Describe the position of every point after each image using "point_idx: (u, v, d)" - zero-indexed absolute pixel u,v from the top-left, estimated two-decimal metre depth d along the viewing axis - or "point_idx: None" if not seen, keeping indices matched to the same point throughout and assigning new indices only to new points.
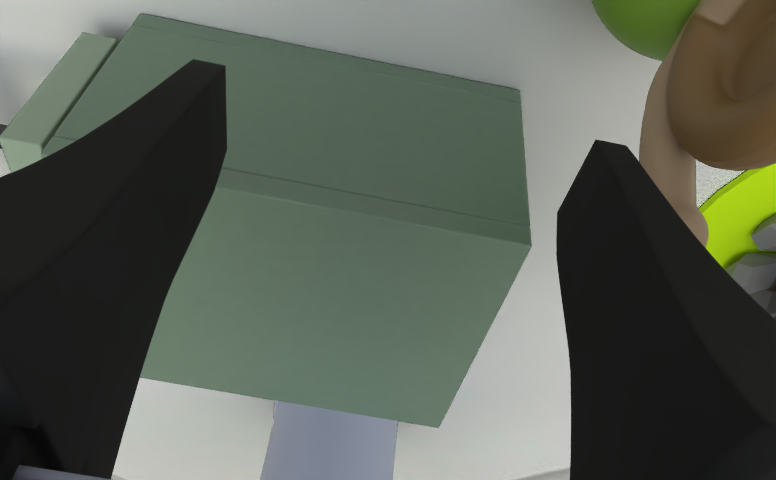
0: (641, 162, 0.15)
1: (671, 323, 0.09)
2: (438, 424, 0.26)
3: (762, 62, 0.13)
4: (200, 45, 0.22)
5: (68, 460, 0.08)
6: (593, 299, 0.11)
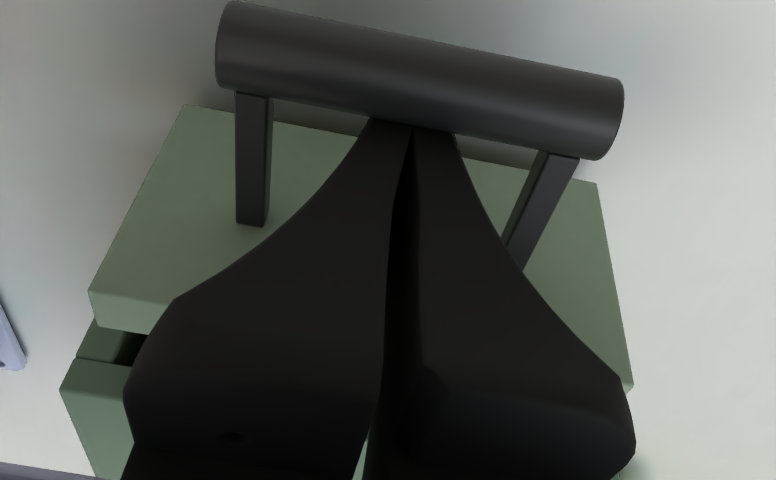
0: None
1: (414, 275, 0.08)
2: None
3: None
4: None
5: None
6: (396, 263, 0.11)
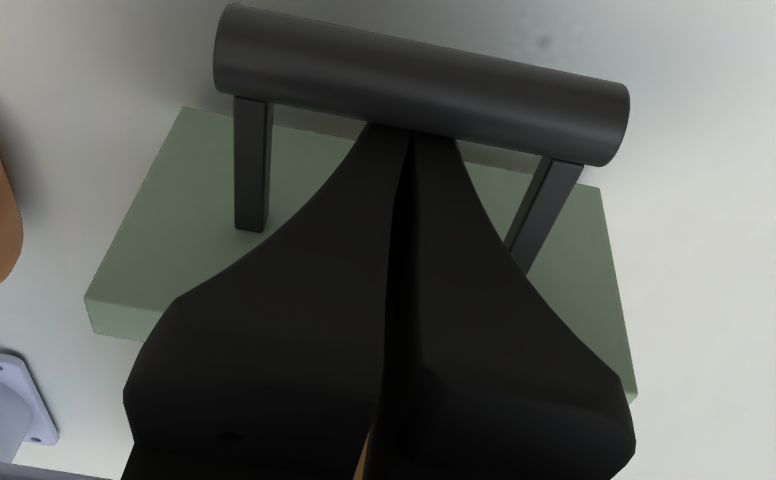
0: None
1: (414, 275, 0.08)
2: None
3: None
4: None
5: None
6: (396, 263, 0.11)
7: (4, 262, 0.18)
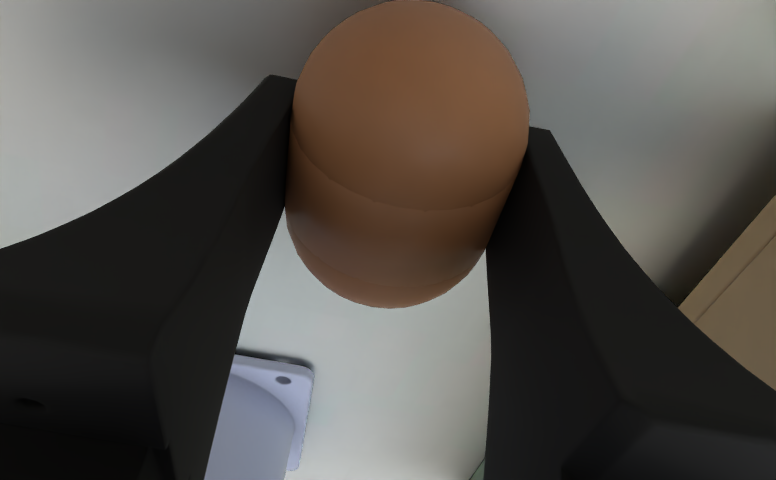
0: None
1: (563, 302, 0.09)
2: None
3: None
4: None
5: (180, 478, 0.08)
6: (510, 284, 0.11)
7: None
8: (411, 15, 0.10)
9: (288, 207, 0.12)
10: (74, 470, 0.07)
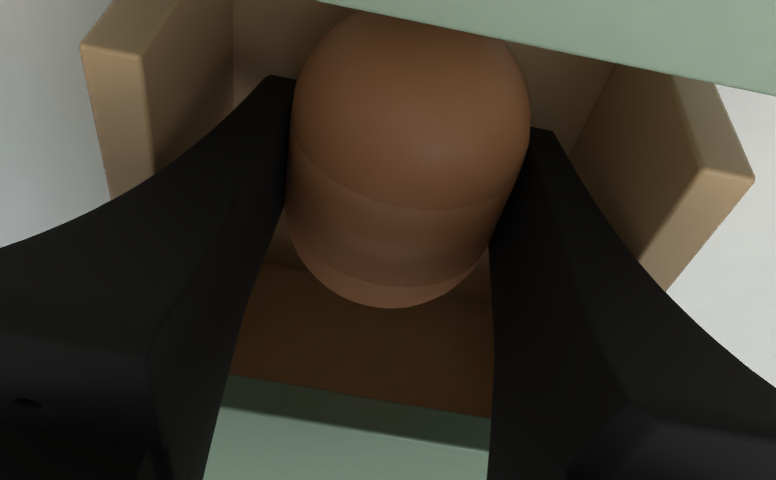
0: None
1: (568, 303, 0.09)
2: None
3: None
4: None
5: (179, 478, 0.08)
6: (513, 284, 0.11)
7: None
8: None
9: (288, 207, 0.12)
10: (72, 470, 0.07)
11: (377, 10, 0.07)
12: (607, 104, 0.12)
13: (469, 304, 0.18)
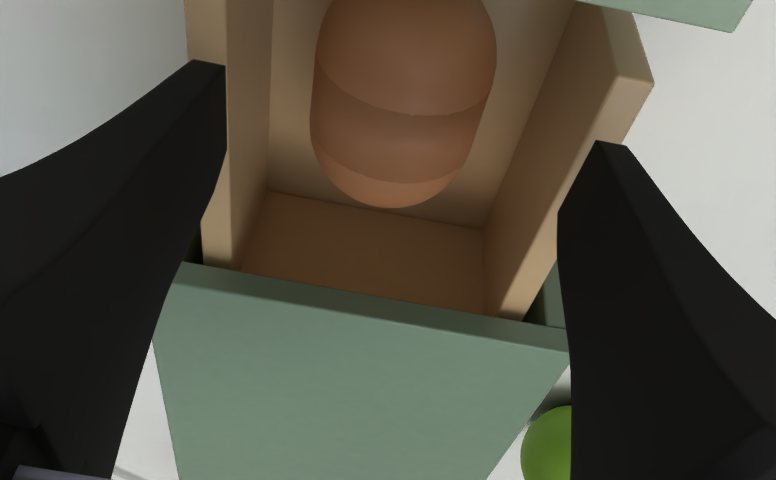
0: None
1: (671, 323, 0.09)
2: None
3: None
4: None
5: (68, 460, 0.08)
6: (593, 299, 0.11)
7: (465, 160, 0.16)
8: None
9: (312, 121, 0.16)
10: None
11: None
12: (564, 48, 0.16)
13: (461, 229, 0.22)
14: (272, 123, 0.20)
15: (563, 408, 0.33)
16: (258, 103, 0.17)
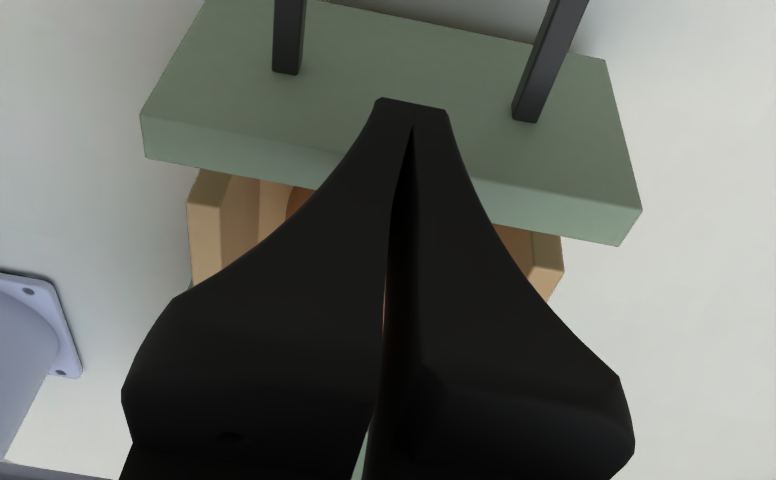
0: None
1: (414, 276, 0.08)
2: None
3: None
4: None
5: None
6: (396, 263, 0.11)
7: None
8: None
9: None
10: None
11: None
12: None
13: None
14: None
15: None
16: (248, 243, 0.20)
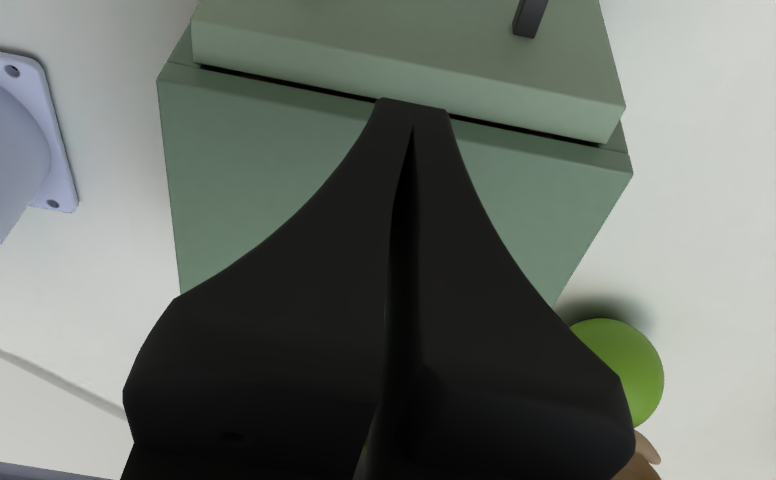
0: None
1: (414, 276, 0.08)
2: None
3: None
4: None
5: None
6: (396, 263, 0.11)
7: None
8: None
9: None
10: None
11: (368, 95, 0.16)
12: (506, 129, 0.21)
13: None
14: None
15: (590, 320, 0.31)
16: None
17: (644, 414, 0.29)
